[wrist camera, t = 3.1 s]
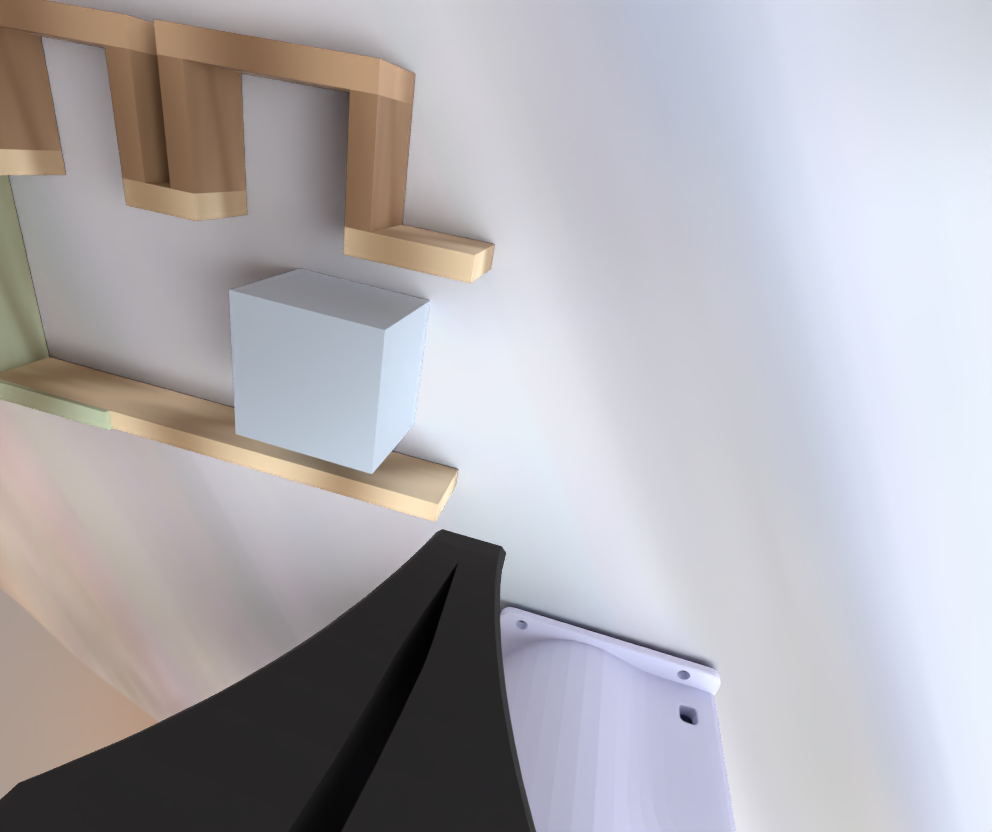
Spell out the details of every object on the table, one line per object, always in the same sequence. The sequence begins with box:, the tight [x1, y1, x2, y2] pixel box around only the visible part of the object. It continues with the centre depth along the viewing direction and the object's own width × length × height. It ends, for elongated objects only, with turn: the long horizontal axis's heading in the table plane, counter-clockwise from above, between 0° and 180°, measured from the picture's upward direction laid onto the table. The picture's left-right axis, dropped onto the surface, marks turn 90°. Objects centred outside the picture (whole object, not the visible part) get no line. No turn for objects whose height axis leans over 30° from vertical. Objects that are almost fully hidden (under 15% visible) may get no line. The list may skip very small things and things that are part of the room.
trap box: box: [0, 0, 495, 522], centre depth 19 cm, size 20×14×3 cm
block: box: [229, 269, 430, 474], centre depth 18 cm, size 5×5×4 cm
